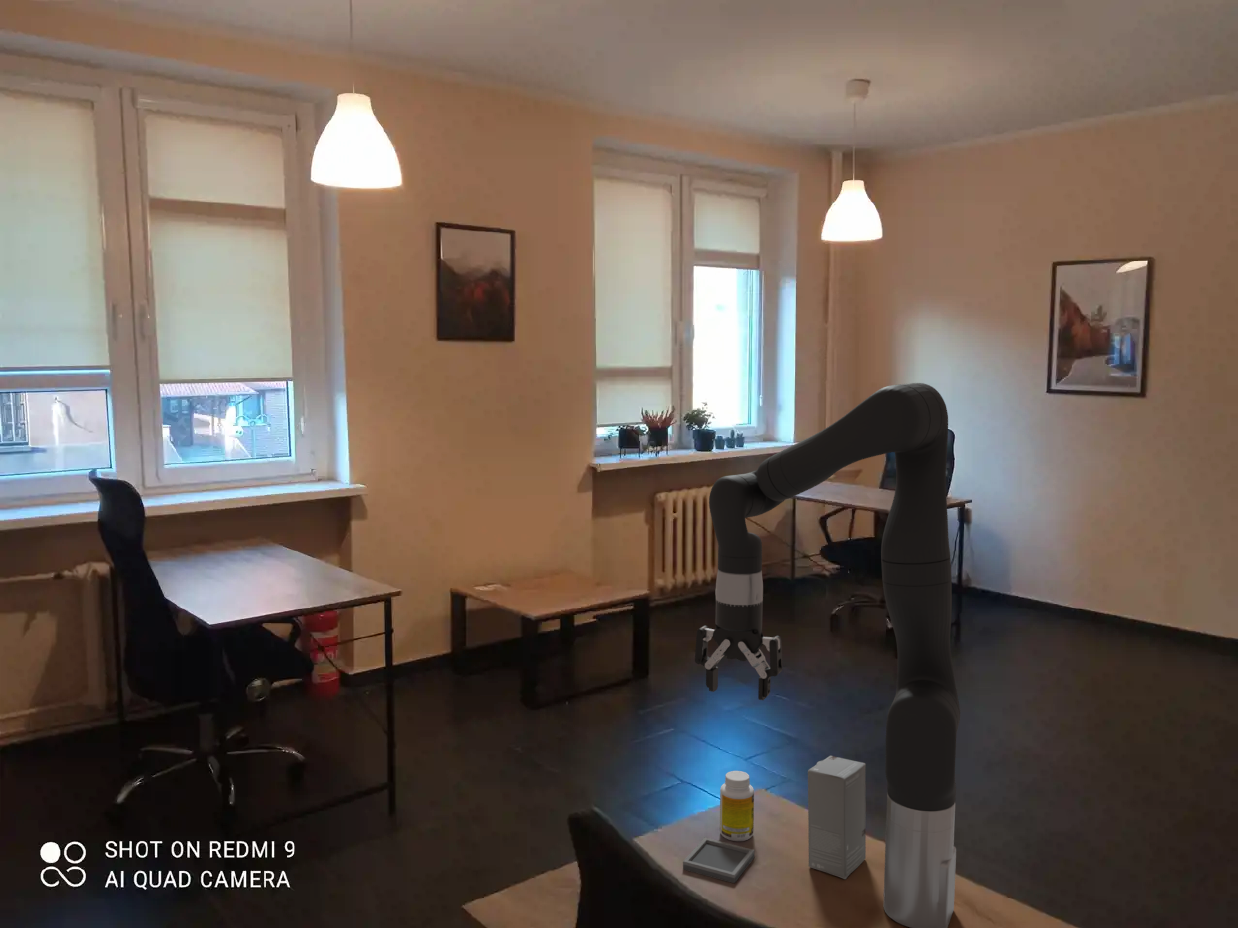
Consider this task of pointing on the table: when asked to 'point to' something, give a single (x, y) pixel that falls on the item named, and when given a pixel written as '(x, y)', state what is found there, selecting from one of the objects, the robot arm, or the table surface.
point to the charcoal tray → (719, 860)
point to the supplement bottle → (736, 807)
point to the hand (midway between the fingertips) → (737, 694)
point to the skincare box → (836, 816)
